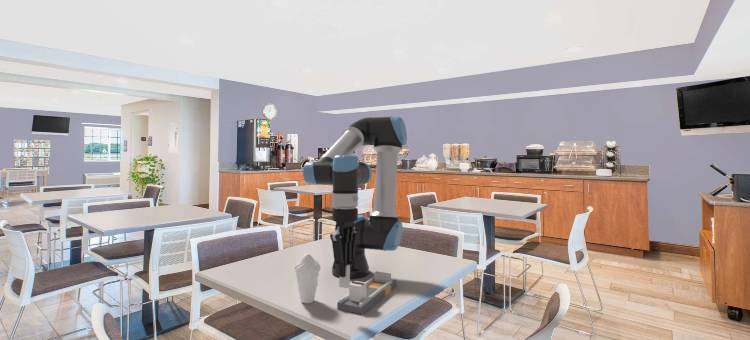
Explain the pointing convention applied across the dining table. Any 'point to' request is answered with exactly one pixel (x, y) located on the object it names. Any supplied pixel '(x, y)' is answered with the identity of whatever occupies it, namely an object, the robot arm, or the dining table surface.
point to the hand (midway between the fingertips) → (344, 286)
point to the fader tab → (357, 291)
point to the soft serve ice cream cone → (307, 278)
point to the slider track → (369, 293)
